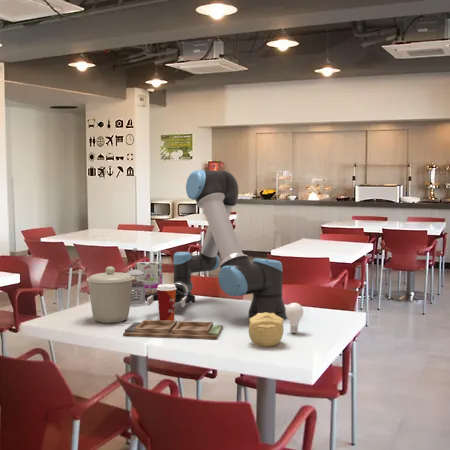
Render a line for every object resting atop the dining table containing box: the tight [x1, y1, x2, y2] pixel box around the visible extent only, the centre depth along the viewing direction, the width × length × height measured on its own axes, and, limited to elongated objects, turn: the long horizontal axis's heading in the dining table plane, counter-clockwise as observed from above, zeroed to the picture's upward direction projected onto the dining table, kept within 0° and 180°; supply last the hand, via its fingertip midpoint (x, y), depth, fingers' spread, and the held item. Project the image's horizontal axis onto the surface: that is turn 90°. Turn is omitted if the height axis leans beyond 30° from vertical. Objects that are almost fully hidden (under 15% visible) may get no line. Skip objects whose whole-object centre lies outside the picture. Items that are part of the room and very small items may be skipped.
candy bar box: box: [135, 261, 163, 297], centre depth 275 cm, size 11×5×16 cm, turn 81°
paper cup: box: [157, 283, 177, 321], centre depth 228 cm, size 8×8×14 cm
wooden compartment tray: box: [122, 319, 224, 340], centre depth 212 cm, size 33×16×2 cm, turn 82°
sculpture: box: [248, 312, 285, 348], centre depth 196 cm, size 12×12×11 cm
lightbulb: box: [285, 302, 304, 335], centre depth 210 cm, size 6×6×11 cm
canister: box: [86, 265, 135, 324], centre depth 230 cm, size 18×18×21 cm
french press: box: [126, 247, 151, 308], centre depth 259 cm, size 10×12×25 cm
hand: (165, 302), depth 227 cm, fingers open, 13 cm apart
